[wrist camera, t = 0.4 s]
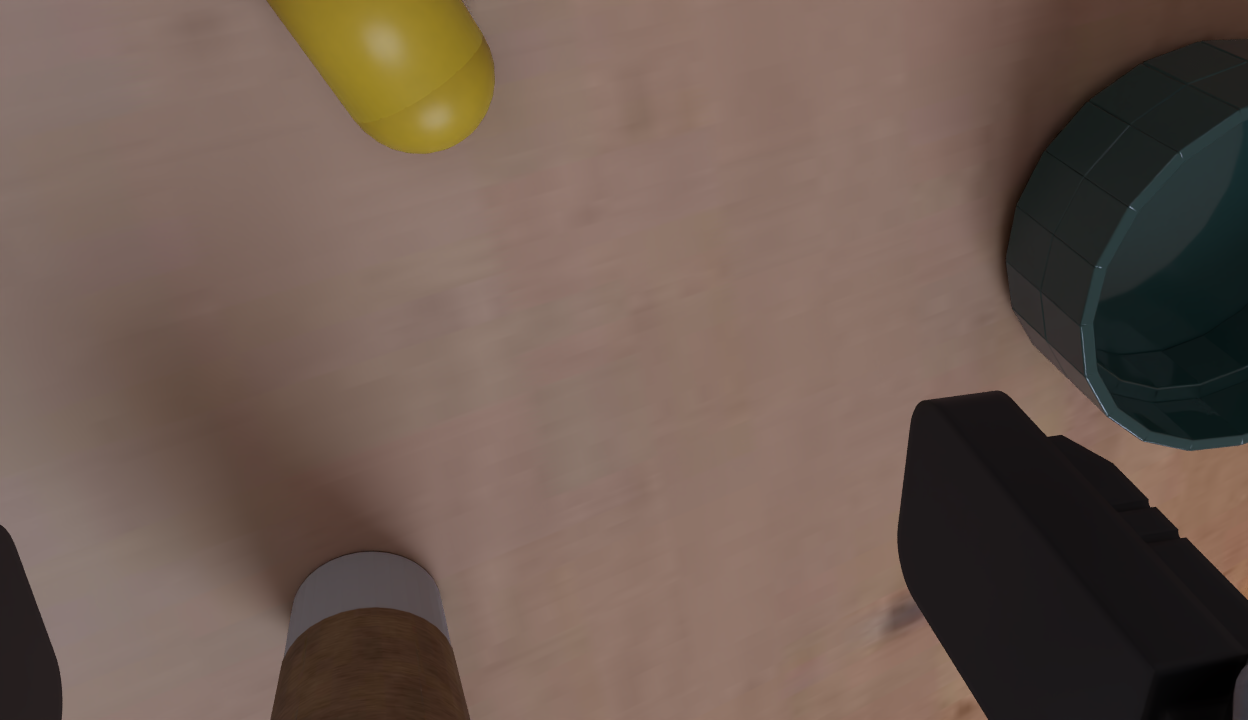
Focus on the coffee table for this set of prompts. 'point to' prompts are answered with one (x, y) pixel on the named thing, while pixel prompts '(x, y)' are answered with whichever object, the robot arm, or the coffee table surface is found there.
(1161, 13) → the coffee table surface
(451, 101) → the capsule
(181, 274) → the coffee table surface
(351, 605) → the coffee cup
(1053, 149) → the teal round dish
